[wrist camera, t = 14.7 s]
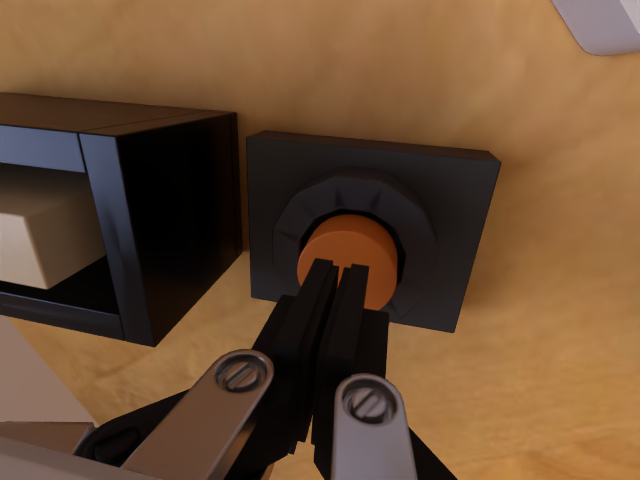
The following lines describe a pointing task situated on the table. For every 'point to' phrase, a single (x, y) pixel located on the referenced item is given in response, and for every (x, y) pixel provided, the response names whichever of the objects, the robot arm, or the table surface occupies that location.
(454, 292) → the button box
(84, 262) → the white flat square block
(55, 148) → the toaster
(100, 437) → the robot arm
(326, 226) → the button
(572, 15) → the u-slot stand
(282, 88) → the table surface
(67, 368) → the table surface
